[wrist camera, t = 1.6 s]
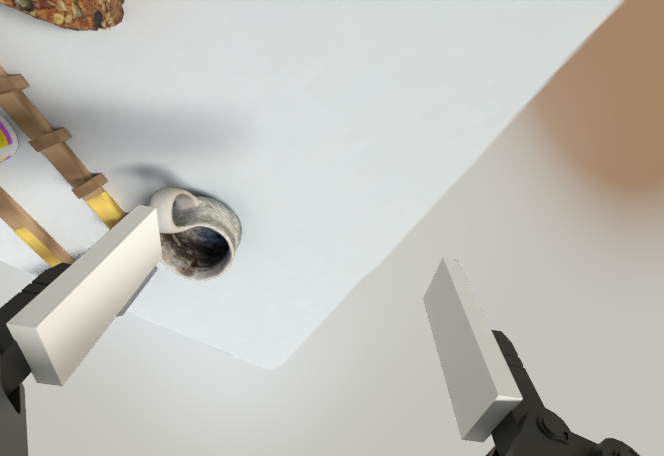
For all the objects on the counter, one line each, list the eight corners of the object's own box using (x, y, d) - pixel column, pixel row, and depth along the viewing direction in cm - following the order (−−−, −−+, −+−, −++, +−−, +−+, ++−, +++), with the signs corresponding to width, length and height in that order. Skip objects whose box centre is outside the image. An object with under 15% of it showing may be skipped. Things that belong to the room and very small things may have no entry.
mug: (196, 253, 47) (163, 305, 38) (147, 175, 41) (95, 215, 32) (258, 240, 45) (238, 290, 37) (218, 155, 39) (182, 193, 30)
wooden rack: (-111, 96, 36) (-158, 103, 33) (-12, 34, 33) (-53, 36, 29) (72, 272, 49) (52, 290, 46) (157, 242, 46) (142, 259, 43)
